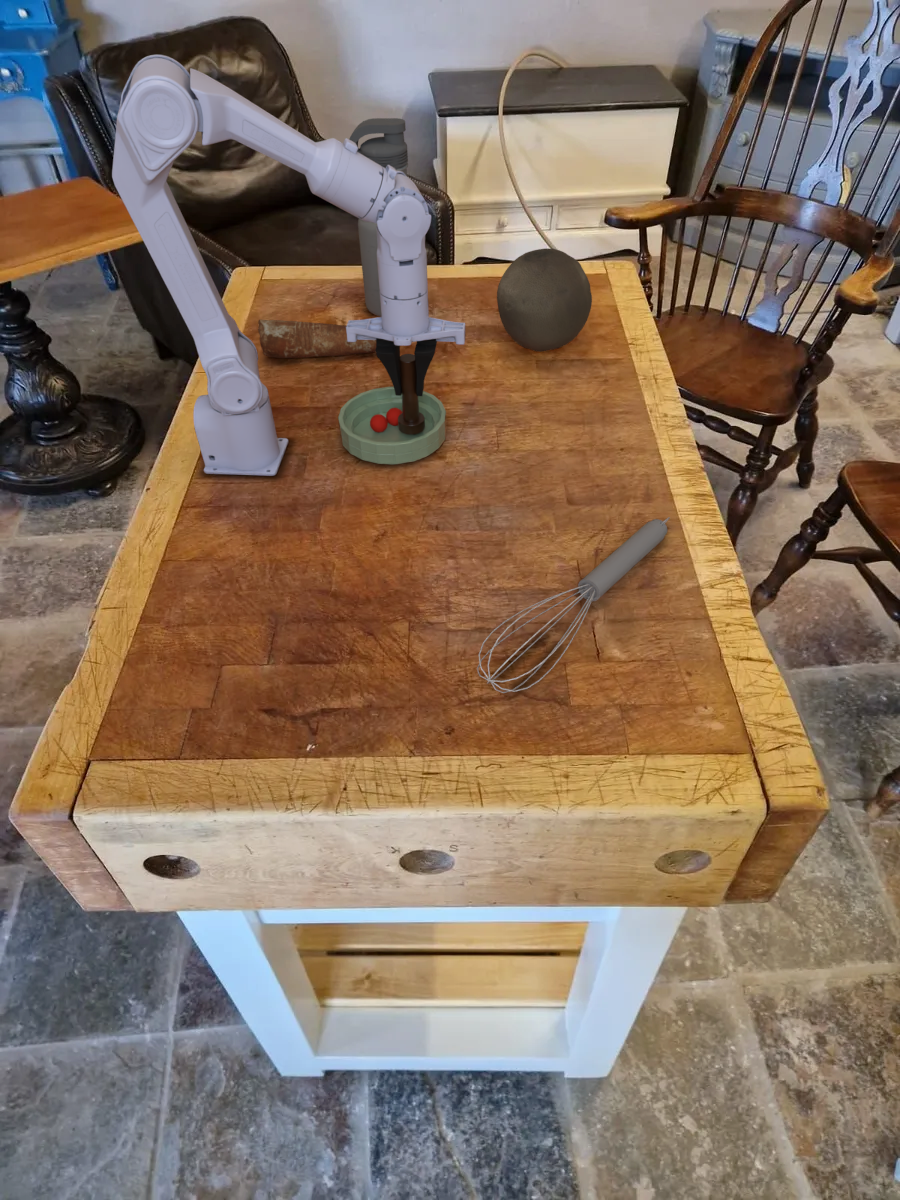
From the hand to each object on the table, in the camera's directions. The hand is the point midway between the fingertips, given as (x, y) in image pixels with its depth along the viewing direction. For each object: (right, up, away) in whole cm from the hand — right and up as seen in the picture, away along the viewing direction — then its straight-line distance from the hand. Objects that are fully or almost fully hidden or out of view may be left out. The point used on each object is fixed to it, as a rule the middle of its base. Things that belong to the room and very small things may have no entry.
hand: (409, 391), depth 104 cm
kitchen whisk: (+19, -28, -19) cm, 39 cm away
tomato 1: (-4, -3, +4) cm, 7 cm away
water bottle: (-4, +23, +32) cm, 40 cm away
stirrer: (0, -4, +4) cm, 5 cm away
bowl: (-2, -5, +4) cm, 7 cm away
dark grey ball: (+19, +12, +21) cm, 31 cm away
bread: (-15, +12, +21) cm, 28 cm away
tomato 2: (-2, -2, +5) cm, 6 cm away
